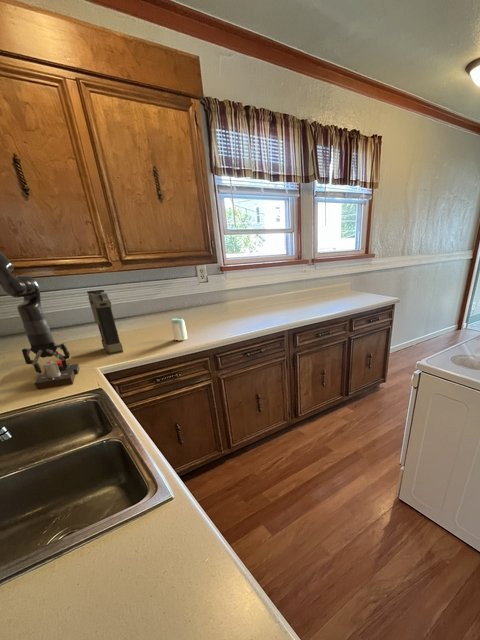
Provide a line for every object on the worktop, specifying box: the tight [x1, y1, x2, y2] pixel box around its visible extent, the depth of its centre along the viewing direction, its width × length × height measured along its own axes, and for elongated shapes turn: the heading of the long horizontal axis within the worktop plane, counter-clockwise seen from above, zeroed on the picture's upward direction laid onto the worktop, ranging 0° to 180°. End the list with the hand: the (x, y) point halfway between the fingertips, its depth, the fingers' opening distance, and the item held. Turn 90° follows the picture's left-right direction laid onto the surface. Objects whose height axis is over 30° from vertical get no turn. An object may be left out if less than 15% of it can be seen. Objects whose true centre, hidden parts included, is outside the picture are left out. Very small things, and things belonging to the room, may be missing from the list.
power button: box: [55, 360, 63, 367], centre depth 141 cm, size 4×4×2 cm
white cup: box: [42, 360, 61, 378], centre depth 131 cm, size 4×4×6 cm
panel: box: [34, 370, 76, 391], centre depth 133 cm, size 12×10×3 cm
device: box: [86, 289, 124, 355], centre depth 165 cm, size 14×8×30 cm, turn 42°
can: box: [171, 317, 188, 342], centre depth 186 cm, size 7×7×12 cm
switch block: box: [43, 362, 80, 375], centre depth 142 cm, size 12×8×4 cm, turn 118°
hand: (53, 370), depth 131 cm, fingers open, 8 cm apart
